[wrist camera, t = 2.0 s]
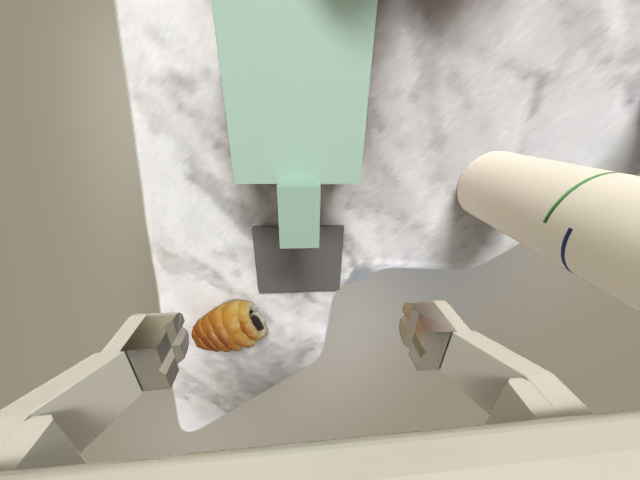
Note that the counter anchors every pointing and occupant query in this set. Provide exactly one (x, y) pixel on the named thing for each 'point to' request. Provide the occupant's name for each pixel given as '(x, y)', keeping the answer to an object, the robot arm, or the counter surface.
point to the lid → (296, 99)
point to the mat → (298, 261)
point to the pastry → (230, 327)
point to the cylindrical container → (562, 215)
